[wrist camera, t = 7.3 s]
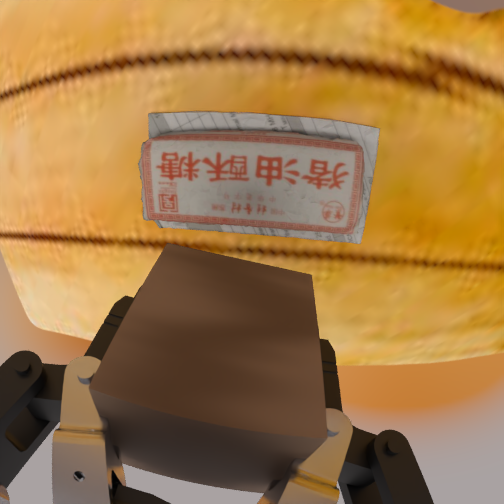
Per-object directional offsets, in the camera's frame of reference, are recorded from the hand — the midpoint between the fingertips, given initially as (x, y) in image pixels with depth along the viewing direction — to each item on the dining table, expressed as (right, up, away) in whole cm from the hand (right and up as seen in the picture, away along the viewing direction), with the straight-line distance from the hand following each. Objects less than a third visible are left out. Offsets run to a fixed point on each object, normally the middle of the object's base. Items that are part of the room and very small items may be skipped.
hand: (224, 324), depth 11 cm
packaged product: (+2, +9, +14) cm, 17 cm away
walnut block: (0, 0, +1) cm, 1 cm away
